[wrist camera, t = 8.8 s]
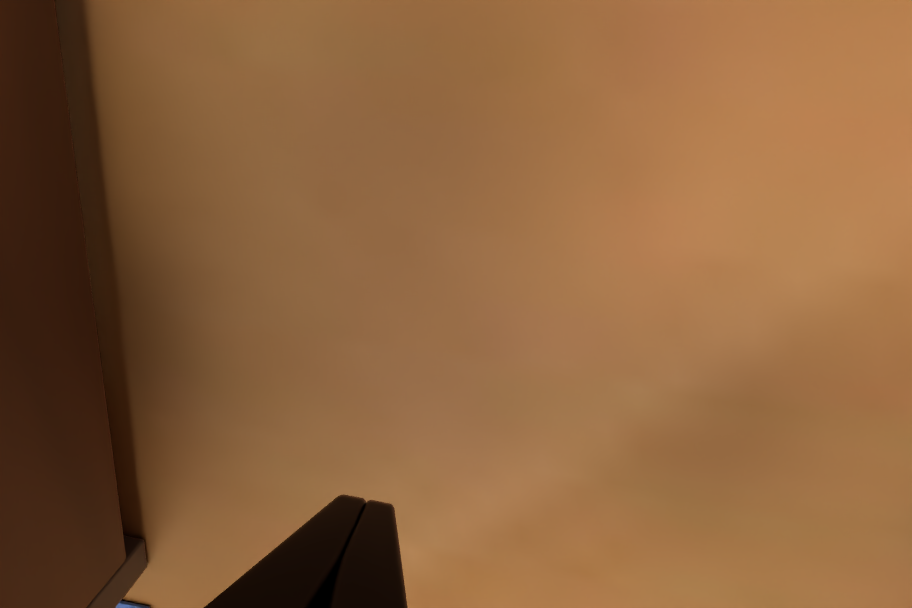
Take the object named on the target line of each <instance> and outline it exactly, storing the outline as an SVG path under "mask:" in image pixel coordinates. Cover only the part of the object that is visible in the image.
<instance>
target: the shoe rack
mask: <svg viewBox="0 0 912 608" xmlns="http://www.w3.org/2000/svg"><path fill="white" fill-rule="evenodd" d="M146 567H147V562H146V552H145V543H144V540H143V539H139V538H134V537H129V536H124V535H123V529H122V521H121V514H120V506H119V498H118V490H117V482H116V475H115V467H114V459H113V451H112V444H111V436H110V428H109V420H108V412H107V405H106V397H105V389H104V381H103V374H102V366H101V358H100V350H99V342H98V335H97V327H96V319H95V311H94V304H93V296H92V288H91V280H90V273H89V265H88V257H87V249H86V241H85V234H84V226H83V218H82V210H81V203H80V195H79V187H78V179H77V171H76V164H75V156H74V148H73V140H72V133H71V125H70V117H69V109H68V101H67V94H66V86H65V78H64V70H63V63H62V55H61V47H60V39H59V32H58V24H57V16H56V8H55V0H0V608H115V607H116V606H117V605H118V604H119V602H120V601H121V600H122V598H123V597H124V596H125V595H126V593H127V592H128V591H129V589H130V588H131V587H132V586H133V584H134V583H135V582H136V580H137V579H138V578H139V577H140V575H141V574H142V573H143V571H144V570H145V569H146Z"/></svg>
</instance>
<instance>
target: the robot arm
mask: <svg viewBox="0 0 912 608" xmlns="http://www.w3.org/2000/svg"><path fill="white" fill-rule="evenodd" d="M204 608H407V601H406V593H405V585H404V578H403V570H402V563H401V555H400V548H399V540H398V533H397V525H396V518H395V510H394V507H393V505H392V504H389V503H384V502H379V501H374V500H370V501H368V502H367V503H366V501H365V500H364V499H363V498H359V497H354V496H349V495H340V496H338V497H336V498H335V499H334V500H333V501H332V502H330V503H329V504H328V505H327V506H326V507H324V508H323V509H322V510H321V511H320V512H318V513H317V514H316V515H315V516H314V517H312V518H311V519H310V520H309V521H308V522H306V523H305V524H304V525H303V526H302V527H300V528H299V529H298V530H297V531H296V532H294V533H293V534H292V535H291V536H290V537H288V538H287V539H286V540H285V541H284V542H282V543H281V544H280V545H279V546H277V547H276V548H275V549H274V550H273V551H271V552H270V553H269V554H268V555H267V556H265V557H264V558H263V559H262V560H261V561H259V562H258V563H257V564H256V565H255V566H253V567H252V568H251V569H250V570H249V571H247V572H246V573H245V574H244V575H243V576H241V577H240V578H239V579H238V580H237V581H235V582H234V583H233V584H232V585H231V586H229V587H228V588H227V589H226V590H225V591H223V592H222V593H221V594H220V595H219V596H217V597H216V598H215V599H214V600H213V601H211V602H210V603H209V604H208V605H206V606H205V607H204Z"/></svg>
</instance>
